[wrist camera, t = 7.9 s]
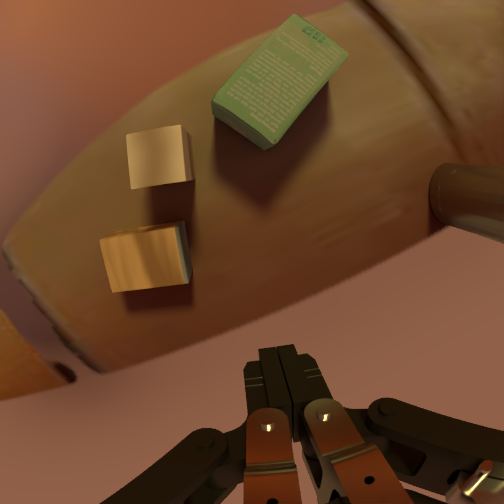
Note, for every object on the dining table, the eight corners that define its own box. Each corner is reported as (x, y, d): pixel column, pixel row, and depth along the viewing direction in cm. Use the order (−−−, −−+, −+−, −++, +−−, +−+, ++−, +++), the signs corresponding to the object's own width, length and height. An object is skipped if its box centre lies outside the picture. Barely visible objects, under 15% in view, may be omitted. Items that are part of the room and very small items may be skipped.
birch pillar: (191, 136, 30) (180, 124, 22) (195, 179, 31) (185, 181, 24) (148, 143, 30) (126, 134, 22) (152, 185, 31) (131, 189, 23)
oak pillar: (178, 227, 28) (99, 240, 28) (188, 283, 30) (112, 292, 29) (184, 220, 33) (113, 232, 32) (193, 269, 34) (124, 278, 34)
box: (211, 117, 30) (207, 101, 23) (279, 38, 28) (293, 10, 21) (263, 154, 32) (275, 148, 24) (328, 73, 29) (352, 53, 22)
